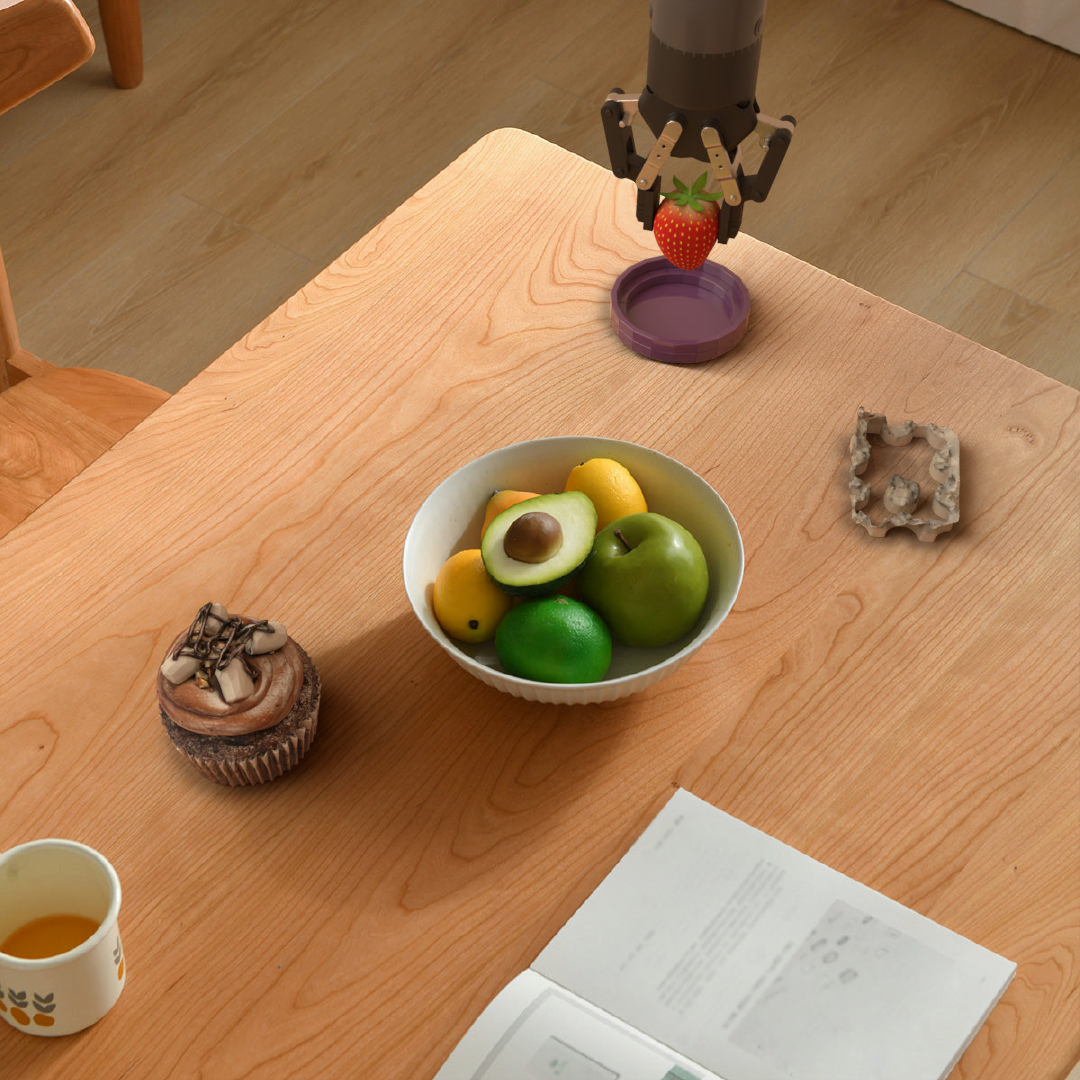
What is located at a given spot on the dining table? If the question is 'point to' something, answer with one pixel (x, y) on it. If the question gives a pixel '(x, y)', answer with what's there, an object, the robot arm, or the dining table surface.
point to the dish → (679, 310)
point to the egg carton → (903, 490)
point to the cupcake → (238, 697)
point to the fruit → (687, 223)
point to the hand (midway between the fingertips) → (687, 230)
